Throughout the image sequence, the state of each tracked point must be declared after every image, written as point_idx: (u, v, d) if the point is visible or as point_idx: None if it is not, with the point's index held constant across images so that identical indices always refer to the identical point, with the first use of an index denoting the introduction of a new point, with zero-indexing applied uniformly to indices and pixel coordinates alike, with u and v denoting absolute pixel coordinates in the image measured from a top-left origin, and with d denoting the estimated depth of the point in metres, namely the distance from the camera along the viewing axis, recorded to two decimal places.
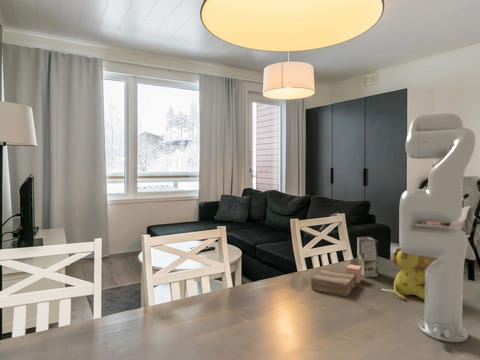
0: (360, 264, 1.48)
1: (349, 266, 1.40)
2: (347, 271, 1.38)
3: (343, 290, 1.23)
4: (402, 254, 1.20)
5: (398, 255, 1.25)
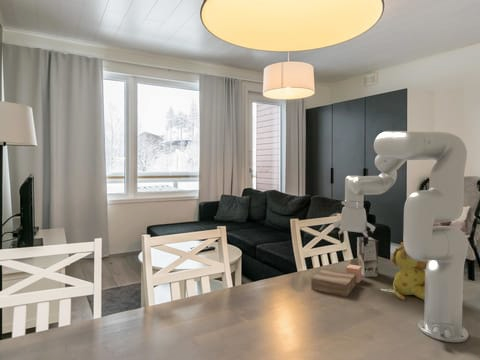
0: (360, 264, 1.48)
1: (349, 266, 1.40)
2: (347, 271, 1.38)
3: (343, 290, 1.23)
4: (401, 254, 1.20)
5: (397, 255, 1.25)
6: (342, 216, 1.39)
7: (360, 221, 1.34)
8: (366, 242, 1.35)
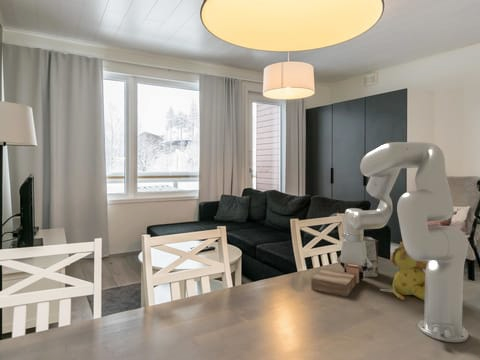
0: None
1: (349, 266, 1.40)
2: (347, 271, 1.38)
3: (343, 290, 1.23)
4: (401, 254, 1.20)
5: (397, 255, 1.25)
6: (342, 249, 1.39)
7: (360, 255, 1.35)
8: (361, 277, 1.37)
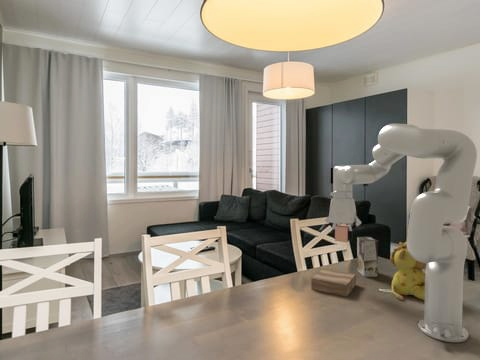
0: (360, 264, 1.48)
1: (338, 225, 1.35)
2: (336, 231, 1.33)
3: (343, 290, 1.23)
4: (400, 254, 1.20)
5: (396, 255, 1.24)
6: (330, 208, 1.34)
7: (349, 212, 1.30)
8: (350, 236, 1.32)
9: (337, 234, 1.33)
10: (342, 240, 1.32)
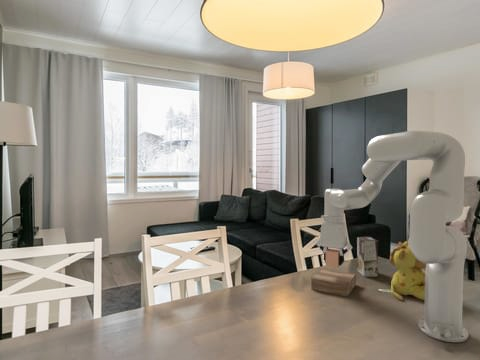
0: (360, 264, 1.48)
1: (329, 249, 1.32)
2: (327, 255, 1.31)
3: (343, 290, 1.23)
4: (400, 254, 1.20)
5: (395, 255, 1.24)
6: (321, 231, 1.32)
7: (340, 237, 1.27)
8: (341, 261, 1.29)
9: (328, 258, 1.31)
10: (333, 265, 1.30)
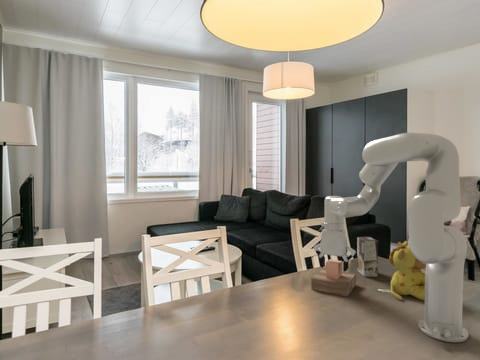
0: (360, 264, 1.48)
1: (329, 261, 1.32)
2: (327, 266, 1.31)
3: (343, 290, 1.23)
4: (399, 254, 1.19)
5: (395, 255, 1.24)
6: (321, 239, 1.32)
7: (340, 244, 1.27)
8: (346, 267, 1.28)
9: (328, 270, 1.31)
10: (333, 276, 1.30)
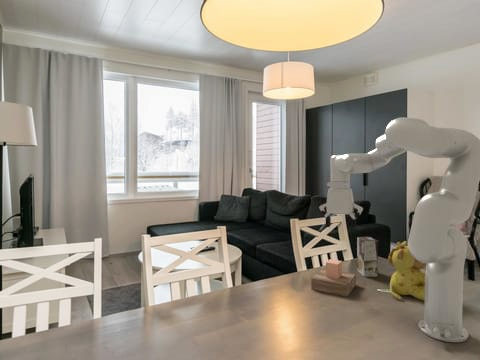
0: (360, 264, 1.48)
1: (329, 261, 1.32)
2: (327, 266, 1.31)
3: (343, 290, 1.23)
4: (398, 254, 1.19)
5: (394, 255, 1.24)
6: (327, 198, 1.31)
7: (347, 202, 1.27)
8: (354, 225, 1.28)
9: (328, 270, 1.31)
10: (333, 276, 1.30)
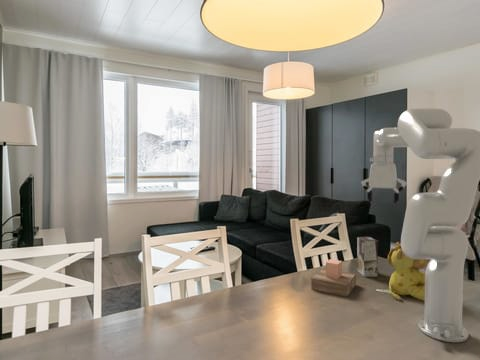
0: (360, 264, 1.48)
1: (329, 261, 1.32)
2: (327, 266, 1.31)
3: (343, 290, 1.23)
4: (398, 254, 1.19)
5: (393, 255, 1.24)
6: (370, 173, 1.33)
7: (391, 176, 1.29)
8: (397, 199, 1.30)
9: (328, 270, 1.31)
10: (333, 276, 1.30)
